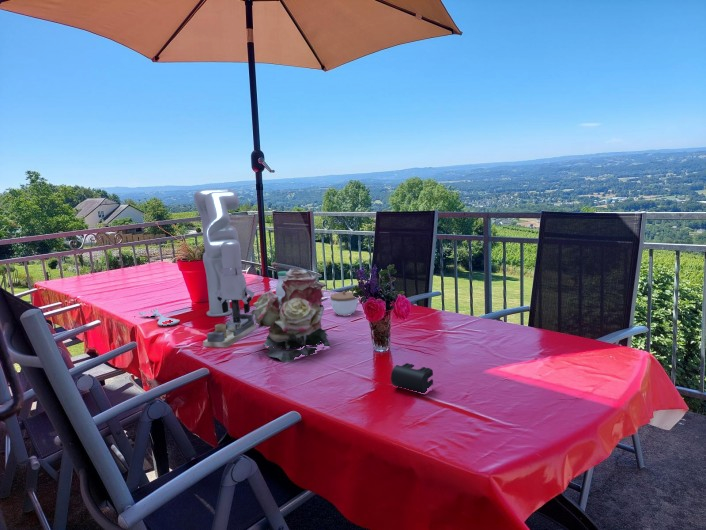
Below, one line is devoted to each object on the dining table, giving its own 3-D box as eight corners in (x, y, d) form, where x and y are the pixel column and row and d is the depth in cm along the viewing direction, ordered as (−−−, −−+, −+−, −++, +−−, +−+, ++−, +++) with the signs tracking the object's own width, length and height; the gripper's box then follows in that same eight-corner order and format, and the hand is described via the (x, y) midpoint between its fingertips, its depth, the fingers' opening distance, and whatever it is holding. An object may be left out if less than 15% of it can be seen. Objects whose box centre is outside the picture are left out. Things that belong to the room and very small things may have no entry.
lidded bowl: (347, 319, 203) (346, 295, 201) (325, 315, 210) (324, 292, 208) (363, 312, 212) (363, 289, 211) (342, 309, 220) (341, 287, 218)
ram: (223, 330, 186) (221, 302, 184) (233, 324, 193) (231, 297, 191) (239, 331, 184) (236, 302, 182) (248, 325, 192) (246, 298, 190)
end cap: (390, 391, 129) (390, 368, 127) (404, 382, 134) (403, 360, 133) (421, 399, 122) (421, 376, 121) (434, 390, 128) (434, 367, 127)
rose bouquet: (250, 345, 172) (243, 268, 168) (322, 333, 184) (318, 260, 179) (265, 368, 149) (258, 278, 144) (347, 352, 161) (343, 269, 156)
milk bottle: (290, 314, 214) (287, 273, 211) (274, 314, 216) (271, 273, 213) (295, 310, 222) (292, 270, 219) (280, 310, 223) (277, 270, 220)
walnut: (214, 339, 176) (213, 326, 175) (219, 335, 180) (218, 323, 179) (223, 339, 175) (222, 326, 174) (228, 336, 179) (227, 323, 178)
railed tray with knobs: (203, 346, 174) (201, 331, 173) (235, 327, 198) (234, 313, 197) (226, 347, 172) (225, 332, 171) (256, 327, 195) (255, 314, 195)
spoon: (157, 313, 229) (156, 306, 228) (183, 325, 206) (182, 317, 205) (138, 317, 223) (137, 310, 222) (163, 330, 199) (162, 322, 199)
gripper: (208, 273, 184) (212, 314, 187) (247, 273, 180) (251, 315, 183) (218, 270, 192) (222, 309, 194) (256, 270, 187) (259, 310, 190)
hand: (236, 312), depth 188 cm, fingers open, 9 cm apart
